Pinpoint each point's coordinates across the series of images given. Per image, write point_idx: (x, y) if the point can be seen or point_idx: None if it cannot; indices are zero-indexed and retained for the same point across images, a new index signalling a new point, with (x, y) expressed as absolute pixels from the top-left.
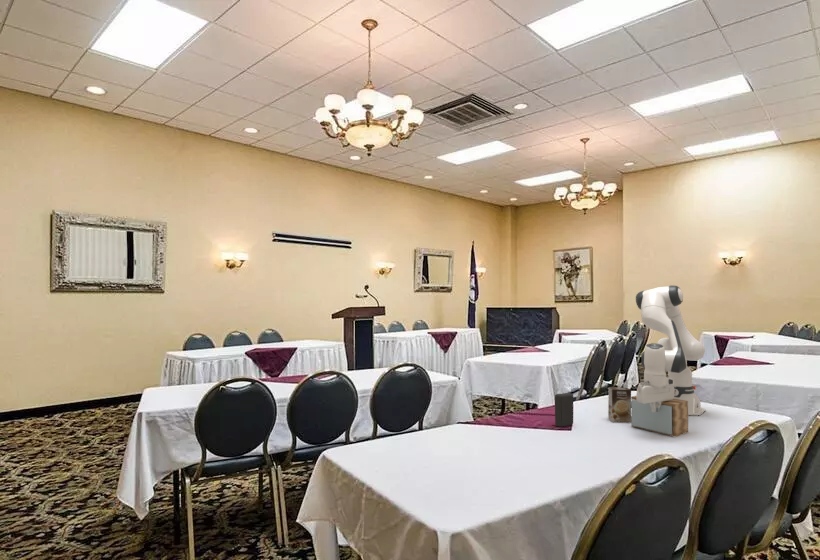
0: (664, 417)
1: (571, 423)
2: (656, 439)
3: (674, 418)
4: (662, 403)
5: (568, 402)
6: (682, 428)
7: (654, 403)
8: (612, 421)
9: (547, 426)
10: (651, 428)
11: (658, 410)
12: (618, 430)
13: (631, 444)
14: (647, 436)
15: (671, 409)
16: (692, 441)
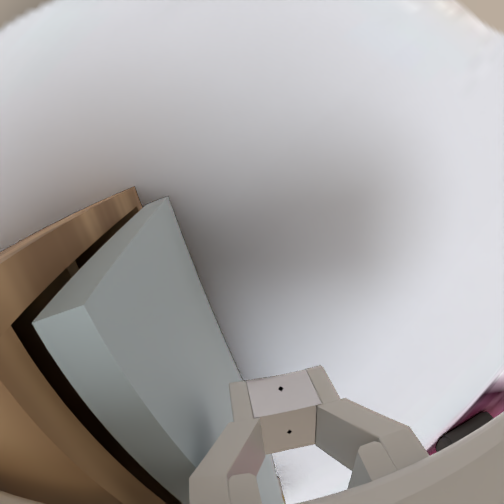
0: (174, 303)
1: (452, 435)
2: (330, 172)
3: (85, 221)
4: (128, 488)
5: None
6: (22, 240)
7: (395, 454)
8: (279, 479)
9: (493, 414)
10: (223, 340)
11: (249, 388)
12: (372, 382)
13: (496, 161)
14: (330, 251)
15: (70, 288)
16: (113, 57)
